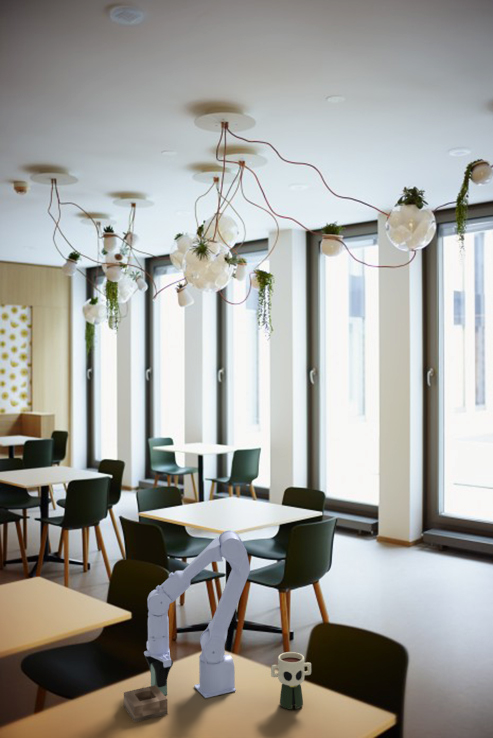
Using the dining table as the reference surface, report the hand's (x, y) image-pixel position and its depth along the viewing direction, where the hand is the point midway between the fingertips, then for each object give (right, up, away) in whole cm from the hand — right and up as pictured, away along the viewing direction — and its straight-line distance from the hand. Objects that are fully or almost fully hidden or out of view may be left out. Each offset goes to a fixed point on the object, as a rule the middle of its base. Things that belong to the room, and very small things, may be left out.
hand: (158, 683), depth 202 cm
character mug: (+36, -3, -7) cm, 37 cm away
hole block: (-2, -3, -10) cm, 10 cm away
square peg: (0, -3, 0) cm, 3 cm away
